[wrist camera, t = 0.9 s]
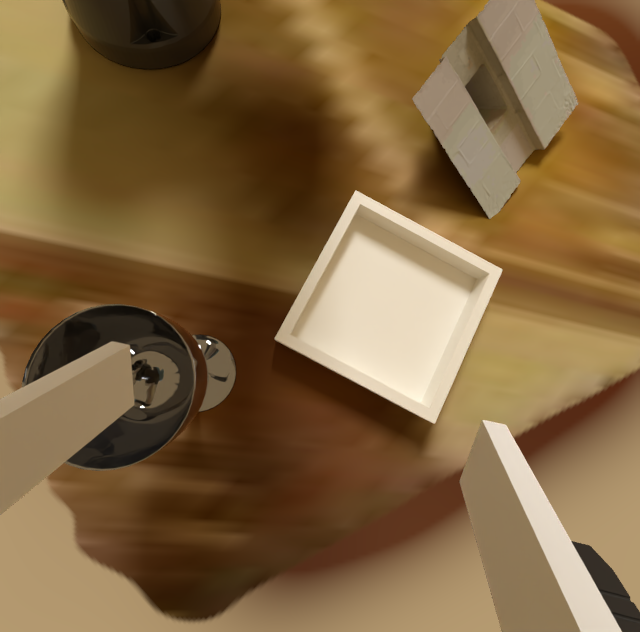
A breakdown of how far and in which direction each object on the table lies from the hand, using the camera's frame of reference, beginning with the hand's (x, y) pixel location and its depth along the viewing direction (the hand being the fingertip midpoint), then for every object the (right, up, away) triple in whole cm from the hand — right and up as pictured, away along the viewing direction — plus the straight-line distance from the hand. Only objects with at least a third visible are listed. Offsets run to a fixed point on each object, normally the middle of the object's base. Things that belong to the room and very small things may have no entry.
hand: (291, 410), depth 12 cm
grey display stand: (+19, +24, +25) cm, 39 cm away
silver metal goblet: (-10, -2, +19) cm, 21 cm away
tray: (+8, +4, +21) cm, 23 cm away
